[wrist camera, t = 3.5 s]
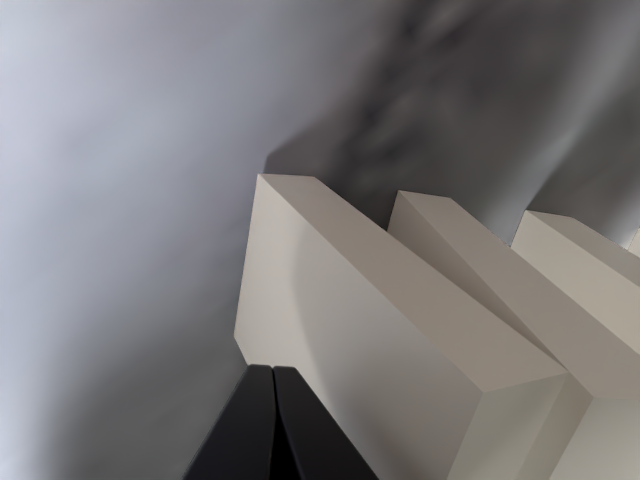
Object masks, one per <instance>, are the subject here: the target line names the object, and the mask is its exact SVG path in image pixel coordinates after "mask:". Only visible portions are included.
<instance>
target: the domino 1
mask: <svg viewBox="0 0 640 480" xmlns="http://www.w3.org/2000/svg"><path fill="white" fill-rule="evenodd" d="M234 338H235V340H236V342H237V344H238V346H239V348H240V350H241V352H242V354H243V356H244V359H245V361H246V363H247V365H248V366H249V365H250V364H263V365H270V366H271V367H272V368H273V367H274V366H276V365H278V366H292V367H295V368H296V369H297V370H298V371H299V373H300V374H301V375H302V377H303V378H304V379H305V381H306V382H307V383H308V385H309V386H310V387H311V389H312V390H313V391H314V393H315V394H316V395H317V397H318V398H319V399H320V401H321V402H322V403H323V405H324V406H325V407H326V409H327V410H328V411H329V413H330V414H331V415H332V417H333V418H334V419H335V421H336V422H337V423H338V425H339V426H340V427H341V429H342V430H343V431H344V433H345V434H346V435H347V437H348V438H349V439H350V441H351V442H352V443H353V445H354V446H355V447H356V449H357V450H358V451H359V453H360V454H361V455H362V457H363V458H364V459H365V461H366V462H367V463H368V465H369V466H370V468H371V469H372V470H373V472H374V473H375V474H376V476H377V477H378V478H379V480H515V478H516V476H517V474H518V472H519V470H520V468H521V466H522V464H523V462H524V461H525V459H526V457H527V455H528V453H529V451H530V449H531V447H532V445H533V443H534V441H535V439H536V437H537V435H538V433H539V431H540V429H541V427H542V425H543V423H544V421H545V419H546V417H547V415H548V413H549V411H550V409H551V407H552V405H553V403H554V401H555V400H556V398H557V396H558V394H559V392H560V390H561V388H562V386H563V384H564V382H565V380H566V378H567V376H568V374H569V371H567V370H566V369H565V368H564V367H562V366H561V365H560V364H558V363H557V362H556V361H554V360H553V359H552V358H550V357H549V356H548V355H547V354H545V353H544V352H543V351H541V350H540V349H539V348H537V347H536V346H535V345H534V344H532V343H531V342H530V341H528V340H527V339H526V338H524V337H523V336H522V335H520V334H519V333H518V332H517V331H515V330H514V329H513V328H511V327H510V326H509V325H507V324H506V323H505V322H503V321H502V320H501V319H500V318H498V317H497V316H496V315H494V314H493V313H492V312H490V311H489V310H488V309H486V308H485V307H484V306H483V305H481V304H480V303H479V302H477V301H476V300H475V299H473V298H472V297H471V296H469V295H468V294H467V293H466V292H464V291H463V290H462V289H460V288H459V287H458V286H456V285H455V284H454V283H453V282H451V281H450V280H449V279H447V278H446V277H445V276H443V275H442V274H441V273H439V272H438V271H437V270H436V269H434V268H433V267H432V266H430V265H429V264H428V263H426V262H425V261H424V260H422V259H421V258H420V257H419V256H417V255H416V254H415V253H413V252H412V251H411V250H409V249H408V248H407V247H405V246H404V245H403V244H402V243H400V242H399V241H398V240H396V239H395V238H394V237H392V236H391V235H390V234H388V233H387V232H386V231H385V230H383V229H382V228H381V227H379V226H378V225H377V224H375V223H374V222H373V221H371V220H370V219H369V218H368V217H366V216H365V215H364V214H362V213H361V212H360V211H358V210H357V209H356V208H355V207H353V206H352V205H351V204H349V203H348V202H347V201H345V200H344V199H343V198H341V197H340V196H339V195H338V194H336V193H335V192H334V191H332V190H331V189H330V188H328V187H327V186H326V185H324V184H323V183H322V182H321V181H319V180H318V179H317V178H315V177H314V176H297V175H280V174H262V173H258V176H257V182H256V189H255V196H254V203H253V209H252V216H251V223H250V229H249V236H248V243H247V250H246V256H245V263H244V270H243V276H242V283H241V290H240V297H239V303H238V310H237V317H236V323H235V330H234Z"/></svg>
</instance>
